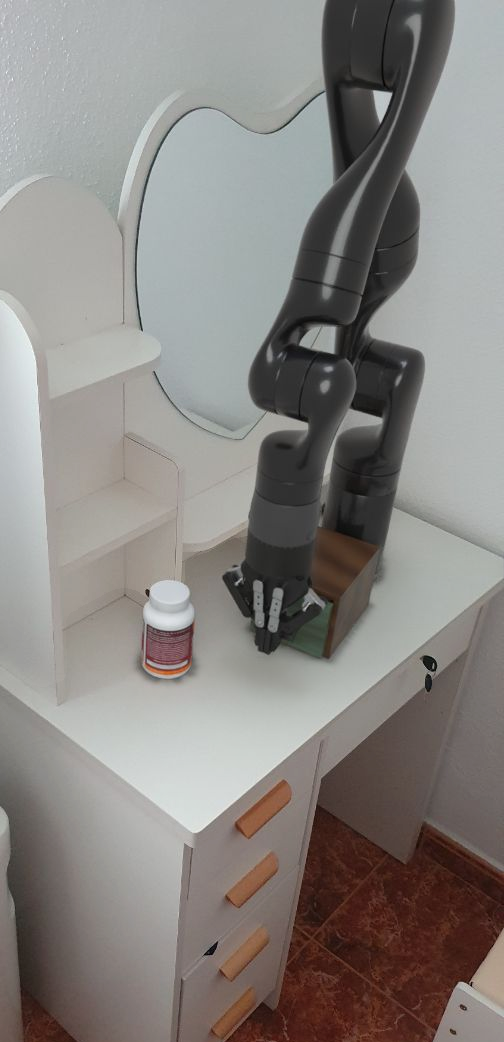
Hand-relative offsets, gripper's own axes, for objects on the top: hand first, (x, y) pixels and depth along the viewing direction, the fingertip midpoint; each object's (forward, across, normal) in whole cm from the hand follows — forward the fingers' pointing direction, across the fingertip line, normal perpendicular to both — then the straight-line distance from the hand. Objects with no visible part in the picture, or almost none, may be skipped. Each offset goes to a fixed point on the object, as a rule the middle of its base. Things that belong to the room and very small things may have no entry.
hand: (266, 649), depth 113 cm
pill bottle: (+4, +11, +5) cm, 13 cm away
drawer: (+3, 0, -10) cm, 10 cm away
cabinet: (+4, 0, -14) cm, 15 cm away
